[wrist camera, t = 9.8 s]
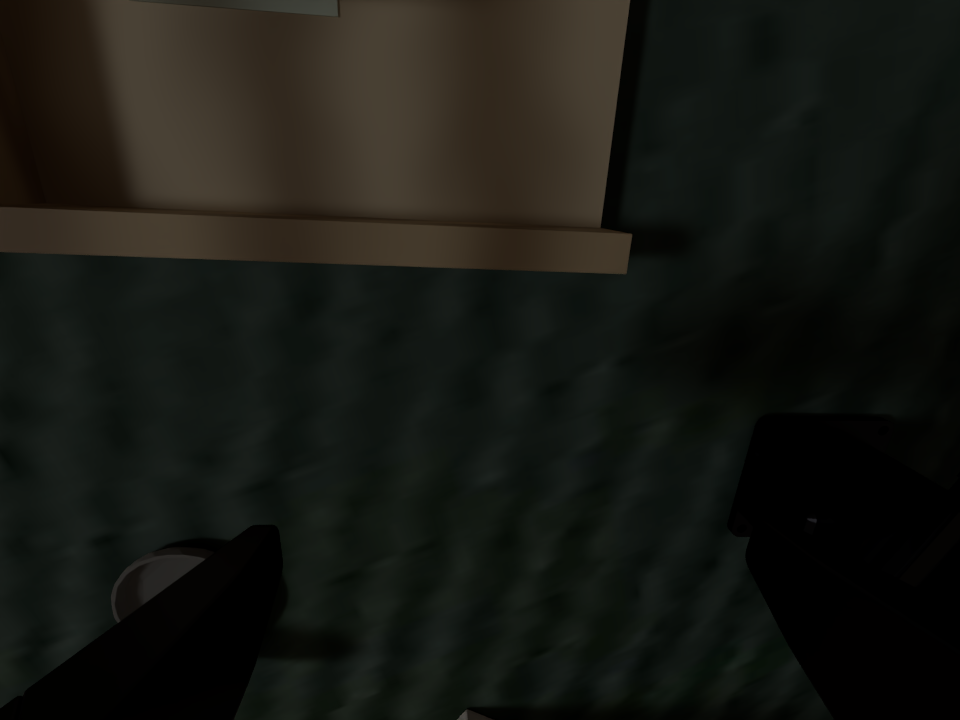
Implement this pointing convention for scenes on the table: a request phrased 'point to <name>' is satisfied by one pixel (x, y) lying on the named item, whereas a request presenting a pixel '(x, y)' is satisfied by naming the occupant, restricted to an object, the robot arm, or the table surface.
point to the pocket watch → (152, 577)
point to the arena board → (313, 131)
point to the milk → (472, 716)
